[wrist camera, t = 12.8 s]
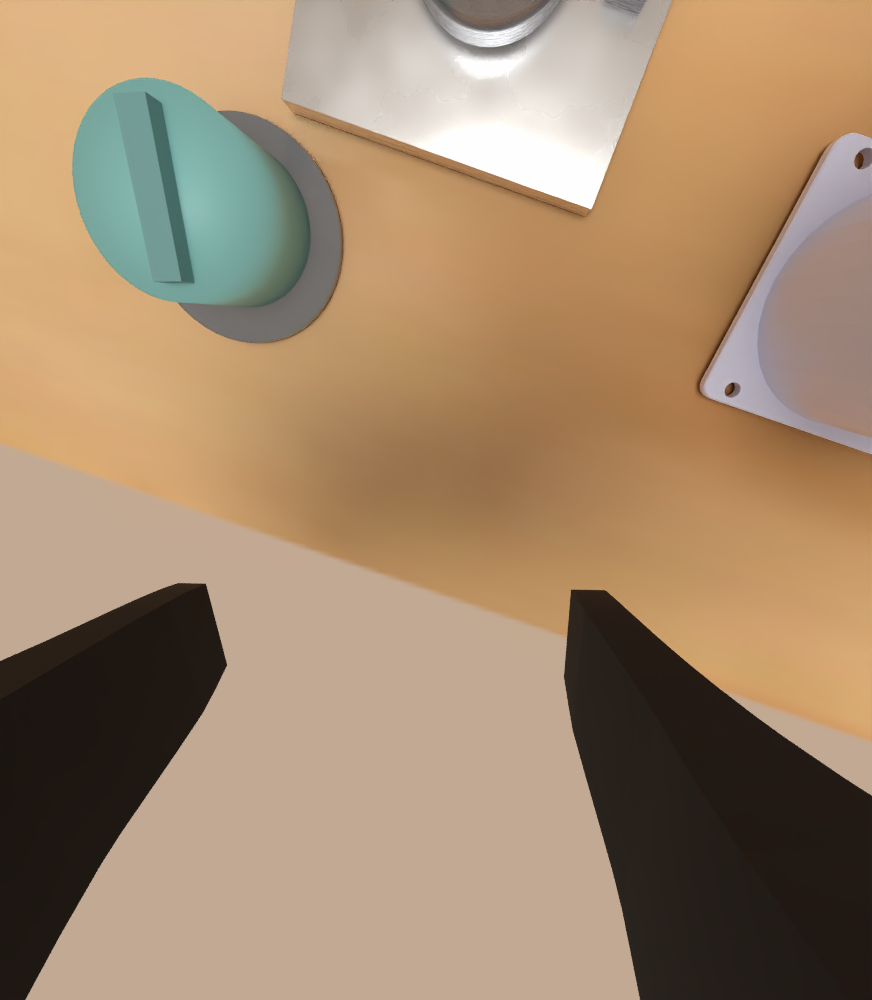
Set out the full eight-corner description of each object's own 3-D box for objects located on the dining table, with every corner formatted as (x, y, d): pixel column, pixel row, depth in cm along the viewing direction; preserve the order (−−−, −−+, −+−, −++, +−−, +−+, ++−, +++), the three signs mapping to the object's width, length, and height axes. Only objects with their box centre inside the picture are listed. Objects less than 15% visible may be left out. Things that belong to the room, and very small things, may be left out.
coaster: (363, 157, 15) (360, 152, 14) (320, 367, 17) (316, 368, 17) (158, 84, 15) (150, 77, 14) (145, 307, 17) (138, 307, 17)
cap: (317, 306, 16) (260, 300, 12) (186, 307, 17) (85, 302, 12) (301, 137, 14) (226, 58, 10) (155, 143, 15) (23, 70, 11)
